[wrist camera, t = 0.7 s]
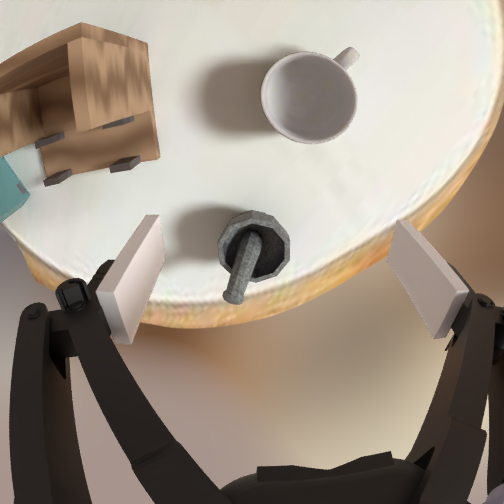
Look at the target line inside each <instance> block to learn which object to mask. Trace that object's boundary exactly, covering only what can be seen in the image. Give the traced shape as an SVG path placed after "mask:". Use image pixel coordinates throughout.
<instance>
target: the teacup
mask: <svg viewBox="0 0 504 504" xmlns="http://www.w3.org/2000/svg"><path fill="white" fill-rule="evenodd" d="M358 57H359V53H358V52H357V51H356V50H355V49H354V48H352V47H348V48H346V49H345V50H344V51H342V52H341V53H340V54H339V55H337V56H336V57H335V58H334V59H331V58H329V57H327V56H325V55H322V54H318V53H314V52H297V53H293V54H289V55H287V56H285V57H283V58H281V59H280V60H278V61H277V62H276V63H274V64H273V65H272V66H271V67H270V69H269V70H268V71H267V73H266V75H265V77H264V79H263V82H262V85H261V92H260V99H261V105H262V108H263V111H264V114H265V116H266V117H267V119H268V121H269V122H270V124H271V125H272V126H273V127H274V128H275V129H276V130H277V131H278V132H279V133H280V134H282V135H283V136H285V137H286V138H288V139H290V140H292V141H295V142H299V143H305V144H319V143H324V142H327V141H330V140H332V139H334V138H336V137H338V136H339V135H340V134H342V133H343V132H344V131H345V130H346V129H347V128H348V127H349V125H350V124H351V122H352V120H353V118H354V116H355V113H356V110H357V93H356V88H355V85H354V83H353V81H352V79H351V77H350V76H349V75H348V73H347V72H346V69H348V68H349V67H350V66H351V65H352V64H353V63H354V62H355V61H356V60H357V59H358Z"/></svg>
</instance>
